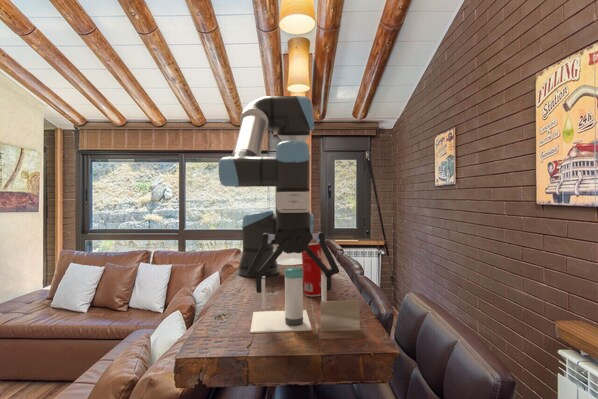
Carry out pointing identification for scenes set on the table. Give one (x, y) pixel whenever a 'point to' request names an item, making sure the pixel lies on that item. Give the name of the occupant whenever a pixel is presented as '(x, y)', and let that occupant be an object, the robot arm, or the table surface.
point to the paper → (276, 322)
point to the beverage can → (312, 271)
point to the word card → (340, 320)
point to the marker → (293, 296)
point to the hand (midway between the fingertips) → (294, 306)
